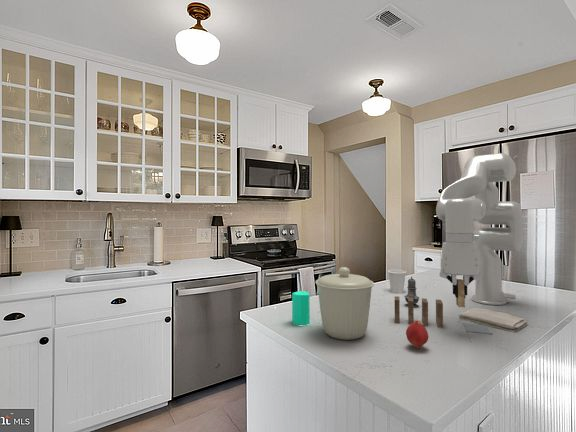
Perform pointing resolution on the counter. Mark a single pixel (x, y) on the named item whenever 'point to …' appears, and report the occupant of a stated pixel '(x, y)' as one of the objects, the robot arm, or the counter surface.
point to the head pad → (476, 328)
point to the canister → (344, 304)
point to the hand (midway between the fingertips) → (460, 296)
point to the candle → (300, 308)
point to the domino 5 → (460, 293)
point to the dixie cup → (397, 280)
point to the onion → (417, 334)
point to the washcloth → (494, 319)
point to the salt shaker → (412, 292)
